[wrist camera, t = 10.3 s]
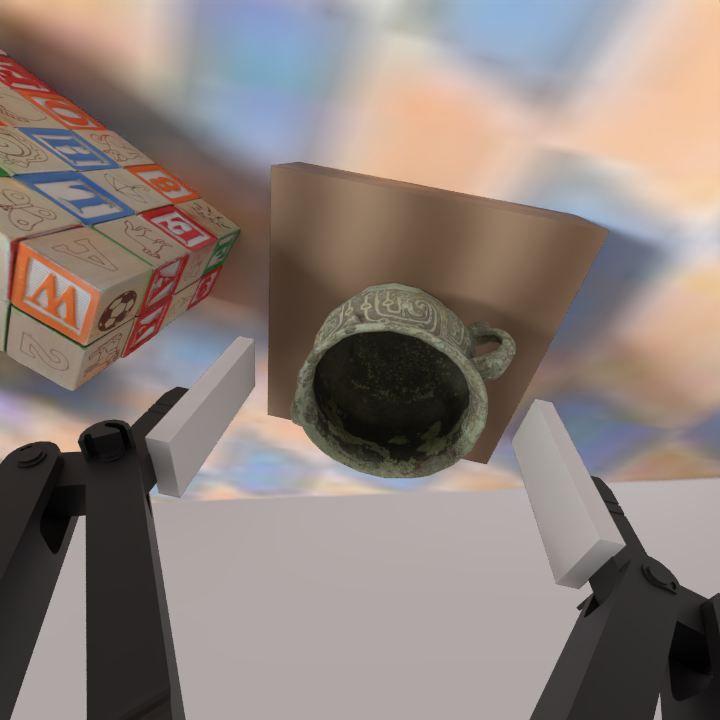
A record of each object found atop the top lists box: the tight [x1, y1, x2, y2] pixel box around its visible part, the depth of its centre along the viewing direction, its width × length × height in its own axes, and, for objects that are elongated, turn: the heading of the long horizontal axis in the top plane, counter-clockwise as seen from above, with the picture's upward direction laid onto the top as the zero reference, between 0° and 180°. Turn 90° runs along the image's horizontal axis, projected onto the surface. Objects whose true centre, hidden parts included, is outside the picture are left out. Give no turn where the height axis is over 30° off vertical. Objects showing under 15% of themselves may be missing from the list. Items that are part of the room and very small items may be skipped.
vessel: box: [290, 283, 516, 478], centre depth 18 cm, size 12×9×6 cm
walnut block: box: [268, 162, 609, 464], centre depth 23 cm, size 16×16×5 cm
